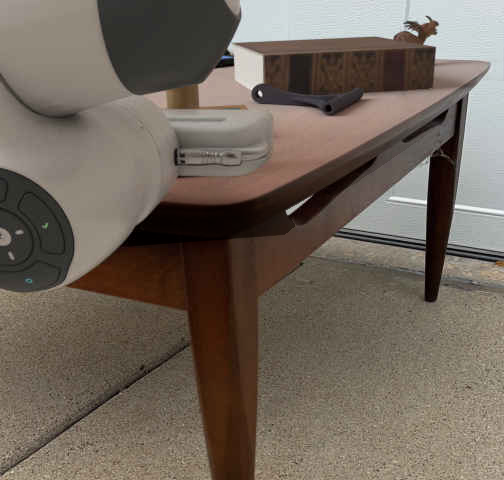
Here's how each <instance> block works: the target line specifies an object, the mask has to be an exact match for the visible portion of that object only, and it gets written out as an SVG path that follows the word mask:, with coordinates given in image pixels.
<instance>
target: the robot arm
mask: <svg viewBox="0 0 504 480" xmlns="http://www.w3.org/2000/svg"><path fill="white" fill-rule="evenodd" d="M242 17H243V14H242V7H241V0H0V290H5V291H8V292H15V293H22V294H28V293H29V294H30V293H31V294H34V293H35V294H36V293H44V292H49V291H54V290H58V289H60V288H63V287H65V286H68V285H69V284H72V283H73V282H75V281H77V280H79V279H80V278H82V277H84V276H85V275H86V274H88V273H89V272H91V271H93V270H94V269H95V268H97V267H98V266H99V265H100V264H101V263H102V262H104V261H105V260H106V259H108V258H109V257H110V256H112V254H113V253H114V252H115V251H116V250H118V248H119V247H121V245H122V244H124V242H125V241H126V240H127V239H128V238H129V236H130V235H131V233H132V232H133V231H134V229H135V227H136V226H138V225H139V224H140V223H142V222H143V221H144V220H145V219H146V218H147V217H148V216H149V215H150V214H151V213H152V212H153V211H154V209H156V207H158V206H159V204H160V203H162V201H164V199H165V198H166V197H167V196H168V195H169V194H170V192H171V191H172V190H173V187H174V186H175V183H176V181H177V178H178V177H177V176H189V177H208V178H209V177H211V178H232V177H234V178H235V177H242V176H246V175H247V176H248V175H250V174H253V173H255V172H256V171H258V170H259V169H261V168H262V167H263V166H265V165H266V164H267V163H268V162H269V161H270V160H271V158H272V157H273V154H274V147H275V144H274V142H275V141H274V140H275V134H274V133H275V131H274V125H275V123H274V116H273V114H272V113H271V112H269V111H267V110H264V109H263V110H262V109H248V110H218V109H167V108H160V107H159V106H158V105H157V104H156V103H154V102H153V101H152V100H151V99H149V98H148V97H146V95H152V94H155V93H160V92H166V90H171V89H176V88H181V87H186V86H191V85H196V84H198V85H200V84H202V83H204V82H205V81H206V80H207V79H208V78H209V76H210V75H212V72H213V71H214V70H215V68H217V67H216V65H217V64H218V63H219V61H220V60H221V58H222V56H223V55H224V53H225V52H226V50H227V49H228V48H229V46H230V45H231V44H232V41H233V39H234V37H235V34H236V33H237V30H238V28H239V27H240V23H241V21H242Z"/></svg>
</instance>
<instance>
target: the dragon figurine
mask: <svg viewBox="0 0 504 480" xmlns="http://www.w3.org/2000/svg"><path fill="white" fill-rule="evenodd" d="M425 17H426V18H427V19H428V21H429V22H425V23H424V22H423V23H422V24H420V23H419V22H418V21H419V20H415V21H414V20H406V21H404V22H403V25H404V28H407V30H402V31H399V32H397V33H396V34H394V35H393V38H392V39H393V40H399V41H405V42H411V43H417V44H422V45H425V42H426V41H427V39H428V38H430V37H431V36H436V35H437V34H438V31H437V30H438V28H437V27H439V26H440V23H439V22H438V21H437V20H434V19H432V17H430V15H425ZM408 30H411V32H410V31H408ZM413 31H414V32H416V33H417V35H415V34H414V33H412V32H413Z"/></svg>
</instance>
